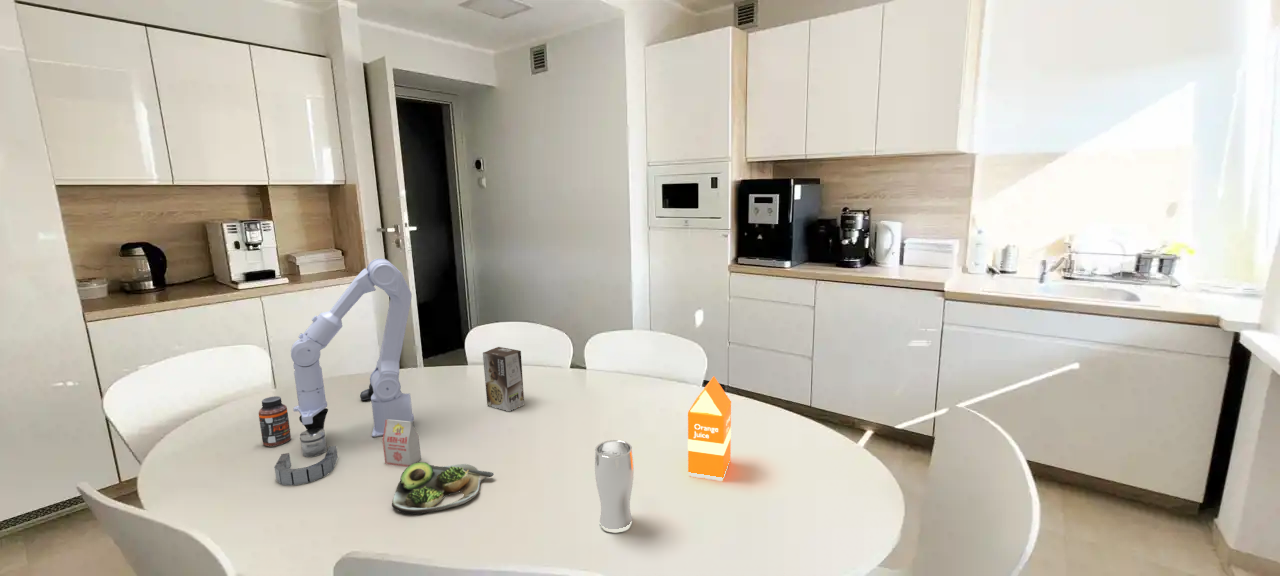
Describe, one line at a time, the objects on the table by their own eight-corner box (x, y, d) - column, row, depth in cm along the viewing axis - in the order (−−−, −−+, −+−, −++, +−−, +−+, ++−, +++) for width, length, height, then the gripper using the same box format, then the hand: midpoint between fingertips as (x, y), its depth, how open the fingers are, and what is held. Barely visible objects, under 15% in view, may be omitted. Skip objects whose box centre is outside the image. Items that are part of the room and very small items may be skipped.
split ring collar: (337, 457, 130) (336, 445, 129) (330, 479, 120) (328, 466, 119) (283, 466, 126) (281, 454, 125) (271, 489, 116) (269, 476, 116)
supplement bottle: (277, 448, 135) (270, 404, 133) (257, 446, 136) (249, 403, 134) (297, 437, 140) (291, 395, 138) (277, 435, 142) (270, 393, 140)
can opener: (384, 401, 164) (382, 383, 163) (358, 404, 162) (356, 385, 161) (393, 381, 181) (391, 364, 180) (370, 383, 179) (368, 366, 178)
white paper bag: (396, 456, 130) (391, 415, 128) (421, 459, 128) (416, 418, 126) (385, 463, 126) (380, 422, 124) (410, 467, 125) (406, 425, 123)
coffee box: (525, 404, 158) (522, 350, 155) (509, 412, 153) (505, 356, 150) (502, 398, 163) (499, 345, 160) (486, 406, 158) (481, 351, 155)
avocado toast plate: (495, 463, 126) (493, 444, 125) (492, 506, 109) (491, 485, 108) (404, 474, 122) (402, 455, 121) (387, 521, 105) (384, 499, 104)
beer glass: (596, 513, 105) (594, 440, 102) (633, 511, 106) (631, 438, 103) (597, 536, 98) (594, 458, 96) (636, 534, 99) (634, 456, 96)
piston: (328, 445, 136) (326, 426, 135) (325, 454, 131) (322, 435, 130) (305, 449, 134) (302, 429, 133) (300, 458, 129) (297, 438, 128)
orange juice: (731, 462, 124) (732, 376, 120) (723, 482, 115) (724, 391, 112) (696, 457, 126) (696, 373, 122) (687, 476, 118) (686, 387, 114)
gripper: (298, 380, 139) (305, 431, 141) (283, 401, 125) (291, 456, 128) (329, 376, 141) (336, 426, 144) (318, 396, 128) (326, 451, 130)
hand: (317, 440), depth 136 cm, fingers closed
